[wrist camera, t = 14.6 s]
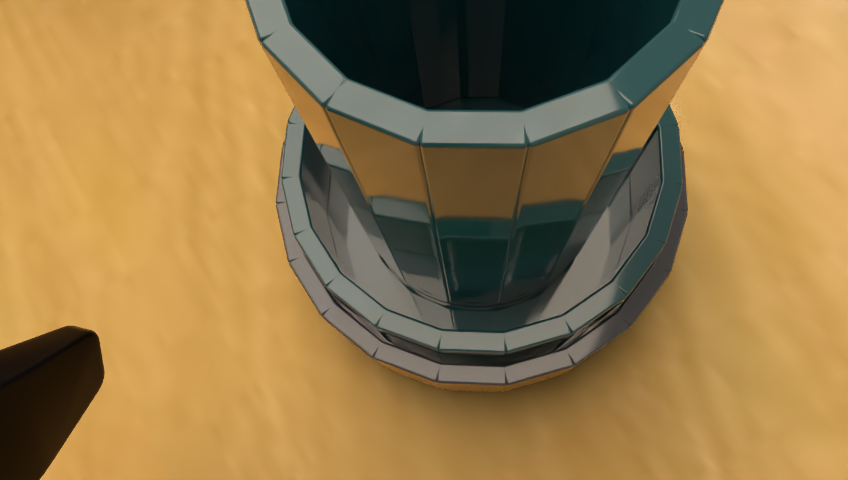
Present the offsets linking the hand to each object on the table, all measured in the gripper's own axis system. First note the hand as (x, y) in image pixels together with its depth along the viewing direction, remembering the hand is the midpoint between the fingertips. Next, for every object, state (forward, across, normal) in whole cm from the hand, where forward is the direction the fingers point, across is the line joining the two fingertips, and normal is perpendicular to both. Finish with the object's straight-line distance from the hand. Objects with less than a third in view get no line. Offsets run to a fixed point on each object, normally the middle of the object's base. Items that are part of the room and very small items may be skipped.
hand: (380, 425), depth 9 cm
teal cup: (+10, 0, +1) cm, 10 cm away
